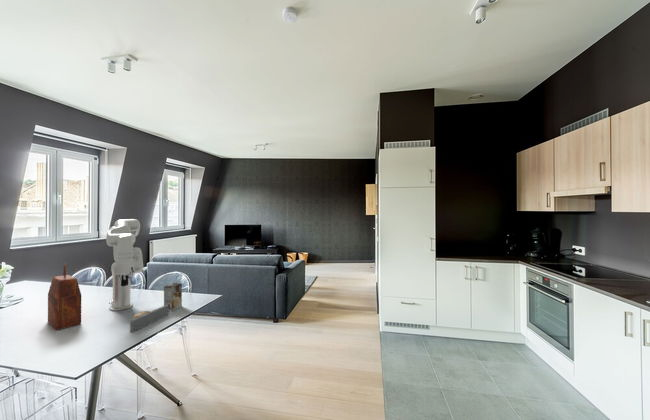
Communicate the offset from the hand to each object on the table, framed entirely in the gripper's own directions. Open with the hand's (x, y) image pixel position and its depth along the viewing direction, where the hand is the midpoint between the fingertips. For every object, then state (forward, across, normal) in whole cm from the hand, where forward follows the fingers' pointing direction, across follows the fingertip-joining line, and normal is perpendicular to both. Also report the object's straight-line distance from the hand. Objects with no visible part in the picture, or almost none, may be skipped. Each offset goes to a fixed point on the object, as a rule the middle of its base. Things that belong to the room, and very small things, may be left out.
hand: (124, 285), depth 157 cm
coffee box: (+21, +16, +21) cm, 34 cm away
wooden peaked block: (+21, -28, -12) cm, 37 cm away
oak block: (+20, +15, 0) cm, 25 cm away
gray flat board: (+20, +20, -1) cm, 28 cm away
